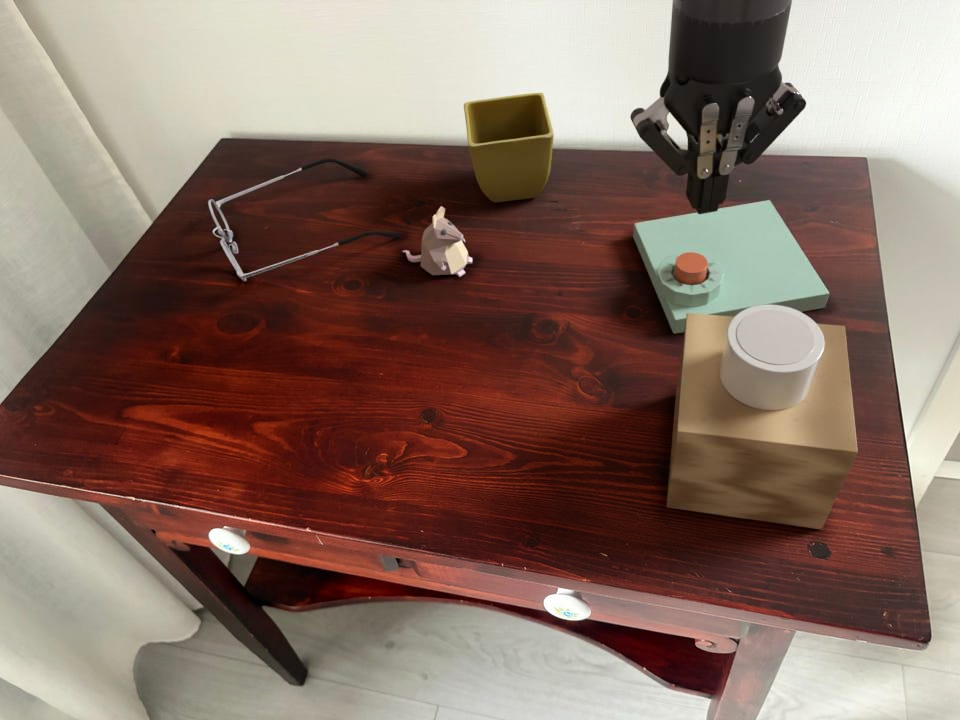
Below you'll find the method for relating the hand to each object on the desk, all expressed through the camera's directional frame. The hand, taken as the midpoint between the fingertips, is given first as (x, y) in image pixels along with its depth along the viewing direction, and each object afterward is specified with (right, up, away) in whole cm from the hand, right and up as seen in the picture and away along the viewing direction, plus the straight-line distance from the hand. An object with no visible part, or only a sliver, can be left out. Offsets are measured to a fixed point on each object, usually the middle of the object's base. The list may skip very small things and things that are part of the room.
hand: (704, 207), depth 62 cm
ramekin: (+1, -14, -10) cm, 17 cm away
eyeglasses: (-38, +2, +23) cm, 44 cm away
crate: (+2, -20, -3) cm, 21 cm away
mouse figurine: (-23, -2, +17) cm, 29 cm away
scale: (+5, -4, +11) cm, 13 cm away
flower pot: (-15, +7, +24) cm, 29 cm away
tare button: (+1, -5, +7) cm, 8 cm away
